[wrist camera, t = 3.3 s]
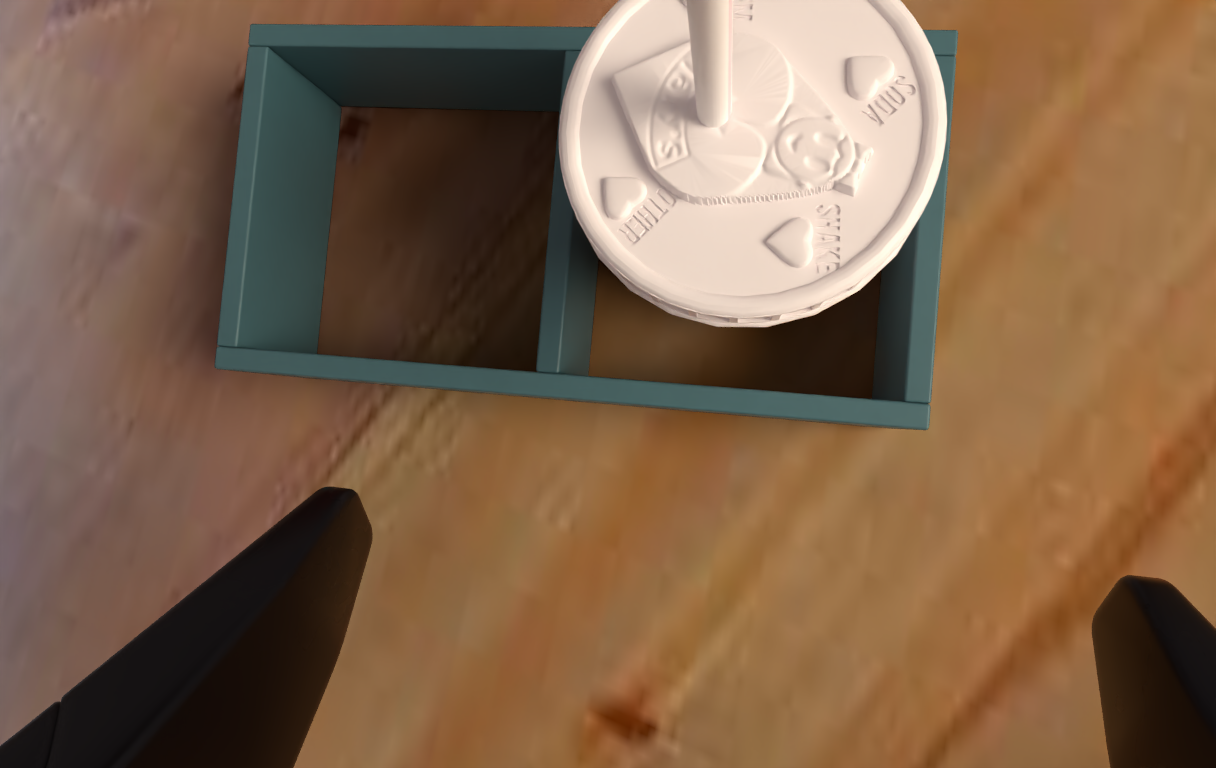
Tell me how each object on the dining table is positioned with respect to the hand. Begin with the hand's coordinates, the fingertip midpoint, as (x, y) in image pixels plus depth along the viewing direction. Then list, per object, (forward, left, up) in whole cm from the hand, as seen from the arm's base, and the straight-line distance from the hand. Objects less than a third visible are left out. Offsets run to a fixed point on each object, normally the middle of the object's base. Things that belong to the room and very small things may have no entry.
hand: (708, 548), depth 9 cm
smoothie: (+4, -5, -13) cm, 14 cm away
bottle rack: (+7, -2, -13) cm, 15 cm away
